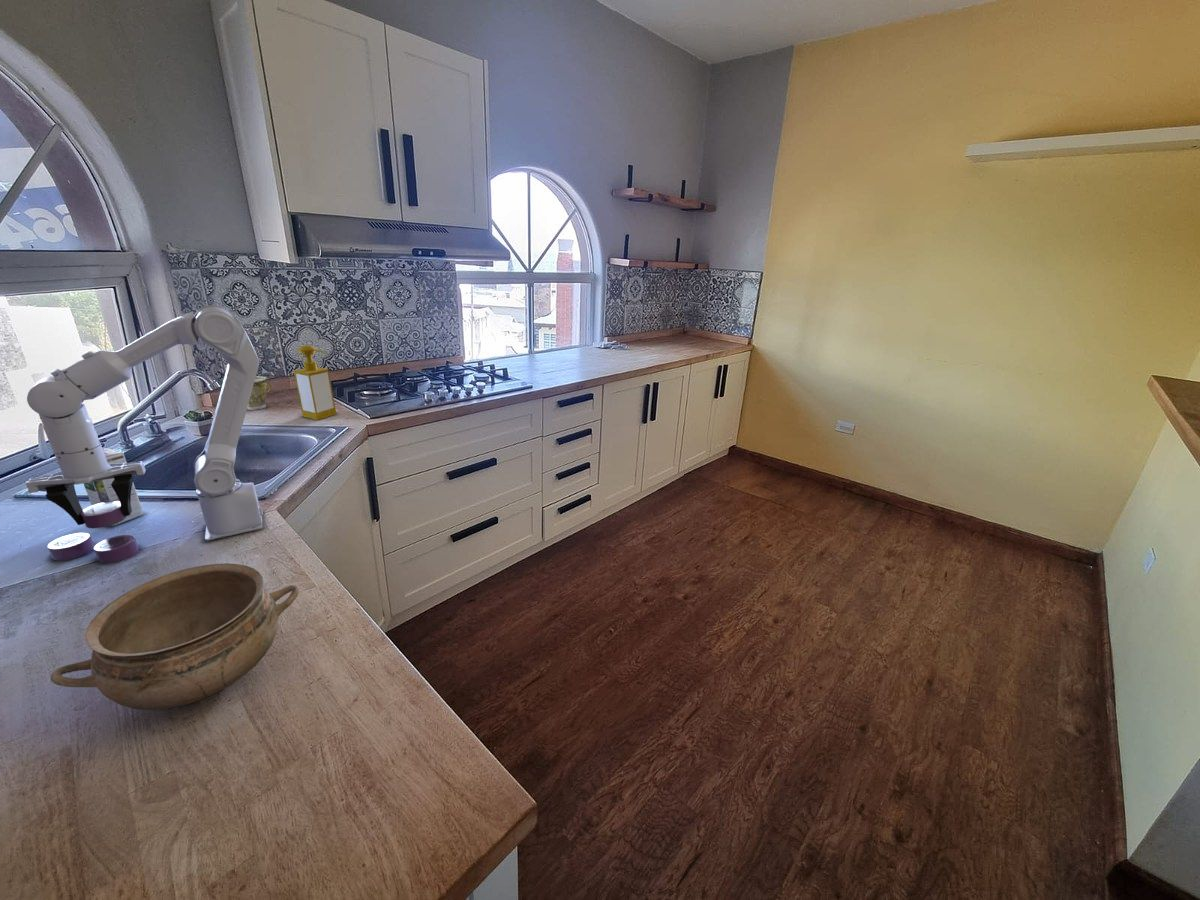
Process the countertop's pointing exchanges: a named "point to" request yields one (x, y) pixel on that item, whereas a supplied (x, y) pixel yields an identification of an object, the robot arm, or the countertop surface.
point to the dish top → (70, 546)
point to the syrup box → (105, 492)
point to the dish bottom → (116, 548)
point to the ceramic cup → (258, 394)
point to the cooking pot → (180, 637)
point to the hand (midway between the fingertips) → (105, 517)
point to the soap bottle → (314, 387)
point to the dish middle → (102, 514)
